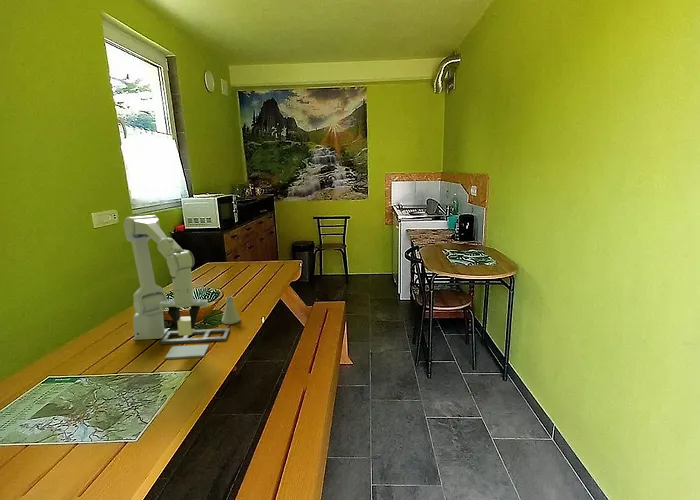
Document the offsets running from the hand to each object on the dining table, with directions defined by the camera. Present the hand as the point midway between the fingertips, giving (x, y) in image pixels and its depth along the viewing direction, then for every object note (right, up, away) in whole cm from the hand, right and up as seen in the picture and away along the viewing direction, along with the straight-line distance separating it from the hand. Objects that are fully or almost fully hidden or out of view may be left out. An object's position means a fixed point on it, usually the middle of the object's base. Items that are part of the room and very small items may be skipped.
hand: (186, 328), depth 123 cm
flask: (+6, -3, +28) cm, 29 cm away
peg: (0, -2, +1) cm, 2 cm away
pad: (0, -9, +2) cm, 9 cm away
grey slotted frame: (-2, -6, +13) cm, 15 cm away
